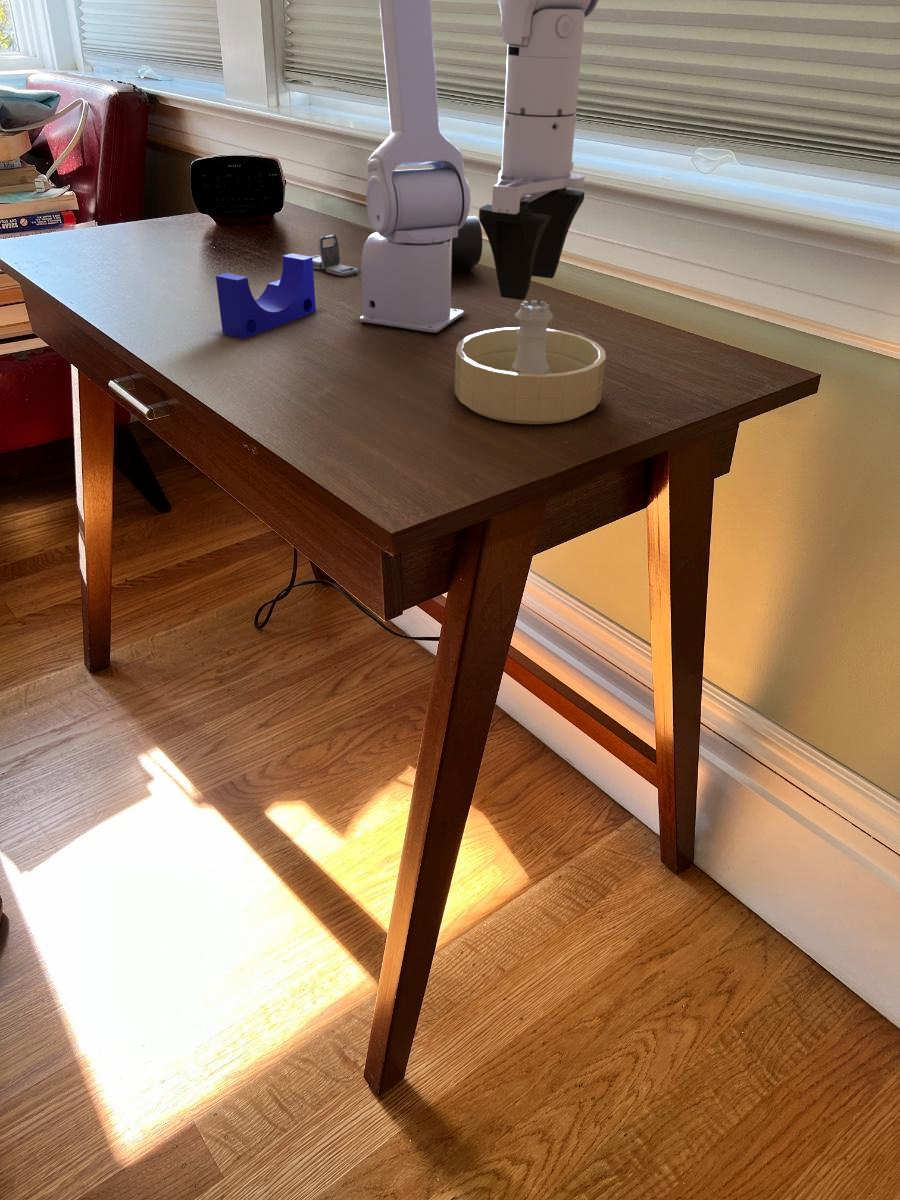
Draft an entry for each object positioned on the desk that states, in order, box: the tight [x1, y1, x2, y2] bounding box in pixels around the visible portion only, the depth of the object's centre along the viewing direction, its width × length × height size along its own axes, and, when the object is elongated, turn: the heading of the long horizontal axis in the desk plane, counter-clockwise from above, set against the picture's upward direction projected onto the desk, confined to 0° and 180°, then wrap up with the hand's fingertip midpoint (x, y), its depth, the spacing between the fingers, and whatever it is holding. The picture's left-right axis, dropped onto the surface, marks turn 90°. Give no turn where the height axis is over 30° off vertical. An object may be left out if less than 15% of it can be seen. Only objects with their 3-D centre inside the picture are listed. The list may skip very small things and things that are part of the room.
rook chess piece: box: [509, 299, 554, 374], centre depth 80 cm, size 4×4×8 cm
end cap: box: [451, 215, 484, 271], centre depth 118 cm, size 10×7×7 cm
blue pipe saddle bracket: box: [215, 252, 317, 340], centre depth 99 cm, size 12×4×6 cm, turn 148°
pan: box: [454, 326, 607, 425], centre depth 82 cm, size 13×13×4 cm
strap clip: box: [311, 234, 359, 276], centre depth 119 cm, size 8×3×4 cm, turn 48°
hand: (528, 286), depth 80 cm, fingers open, 7 cm apart
